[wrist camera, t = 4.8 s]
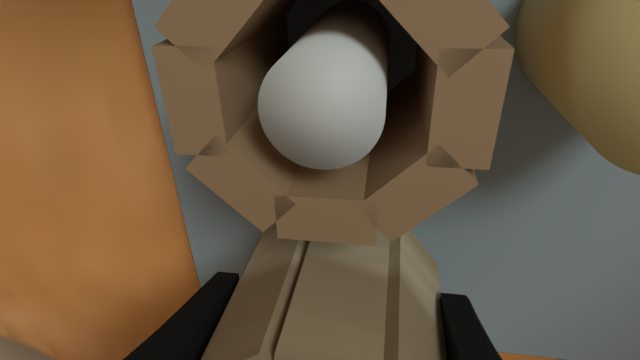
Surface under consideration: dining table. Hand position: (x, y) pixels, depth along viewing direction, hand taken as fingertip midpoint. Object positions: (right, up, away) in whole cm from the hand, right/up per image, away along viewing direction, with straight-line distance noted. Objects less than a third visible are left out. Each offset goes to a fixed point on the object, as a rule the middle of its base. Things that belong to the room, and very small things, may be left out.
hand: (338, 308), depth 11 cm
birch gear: (0, +1, +1) cm, 2 cm away
